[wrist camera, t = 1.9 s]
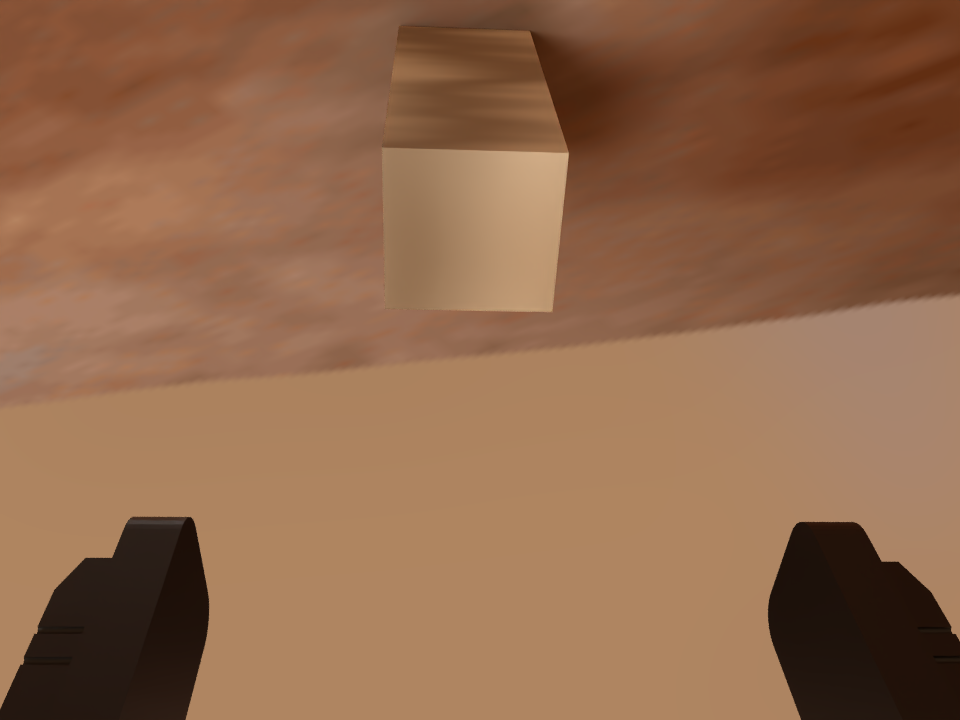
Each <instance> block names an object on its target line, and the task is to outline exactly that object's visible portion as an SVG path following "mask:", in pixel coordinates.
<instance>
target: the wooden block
mask: <svg viewBox="0 0 960 720" xmlns="http://www.w3.org/2000/svg"><path fill="white" fill-rule="evenodd" d="M568 157H569V152H568V148H567V145H566V142H565V139H564V136H563V133H562V130H561V127H560V123H559V120H558V117H557V114H556V111H555V108H554V105H553V102H552V99H551V95H550V92H549V89H548V86H547V83H546V80H545V77H544V74H543V70H542V67H541V64H540V61H539V58H538V55H537V52H536V49H535V45H534V42H533V39H532V36H531V33H530V31H527V30H500V29H472V28H445V27H417V26H399V30H398V37H397V44H396V51H395V58H394V65H393V72H392V80H391V87H390V94H389V101H388V108H387V115H386V122H385V129H384V137H383V144H382V179H383V234H384V290H385V309H415V310H469V311H523V312H552V308H553V299H554V289H555V280H556V271H557V261H558V252H559V242H560V233H561V223H562V214H563V205H564V195H565V186H566V176H567V167H568Z"/></svg>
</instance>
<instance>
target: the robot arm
mask: <svg viewBox="0 0 960 720" xmlns="http://www.w3.org/2000/svg"><path fill="white" fill-rule="evenodd" d="M208 621H209V598H208V590H207V585H206V580H205V575H204V569H203V564H202V558H201V553H200V548H199V542H198V537H197V532H196V527H195V523H194V521H193V519H192V518H191V517H132V518H130V519H129V520H128V522H127V523H126V525H125V528H124V530H123V532H122V535H121V537H120V540H119V542H118V545H117V547H116V550H115V552H114V555H113V557H112V558H85V559H84V560H83V561H82V562H81V563H80V564H79V565H78V566H77V568H75V569H74V570H73V572H71V573H70V575H69V576H68V577H67V578H66V579H65V580H64V581H63V582H62V583H61V584H60V585H59V586H58V587H57V588H56V589H55V590H54V592H53V594H52V596H51V599H50V601H49V603H48V605H47V608H46V610H45V612H44V614H43V616H42V618H41V621H40V623H39V625H38V632H37V634H34V636H33V638H32V641H31V643H30V645H29V647H28V649H27V652H26V654H25V656H24V663H23V665H20V667H19V669H18V671H17V673H16V676H15V678H14V680H13V682H12V685H11V687H10V689H9V691H8V693H7V696H6V698H5V700H4V702H3V704H2V707H1V709H0V720H185V719H186V715H187V712H188V707H189V704H190V700H191V696H192V692H193V689H194V685H195V681H196V677H197V673H198V669H199V665H200V662H201V658H202V654H203V650H204V646H205V641H206V637H207V630H208ZM768 622H769V629H770V635H771V639H772V642H773V646H774V648H775V651H776V654H777V656H778V659H779V662H780V664H781V667H782V670H783V672H784V675H785V678H786V680H787V683H788V686H789V688H790V691H791V693H792V696H793V699H794V702H795V704H796V707H797V710H798V712H799V715H800V718H801V720H960V641H959V639H958V637H957V636H956V634H952V632H951V626H950V624H949V622H948V620H947V619H946V617H945V615H944V614H943V612H942V610H941V608H940V607H939V605H938V603H937V601H936V600H935V598H934V596H933V595H932V593H931V592H930V591H929V590H928V589H927V588H926V587H925V586H924V585H923V584H921V582H920V581H918V580H917V579H916V578H915V577H914V576H913V575H912V574H911V573H910V572H909V571H908V570H907V569H905V568H904V567H903V566H902V565H901V564H900V563H899V562H881V560H880V558H879V556H878V554H877V552H876V551H875V549H874V547H873V545H872V543H871V541H870V539H869V538H868V536H867V534H866V532H865V531H864V529H863V528H862V527H861V526H860V525H859V524H857V523H854V522H799V523H797V524H796V525H795V527H794V528H793V530H792V533H791V536H790V539H789V542H788V544H787V547H786V550H785V553H784V556H783V559H782V562H781V565H780V568H779V571H778V574H777V577H776V580H775V583H774V586H773V589H772V591H771V594H770V599H769V605H768Z"/></svg>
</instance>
